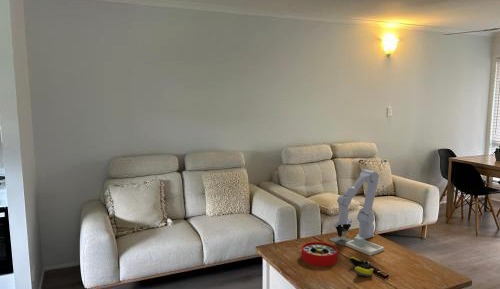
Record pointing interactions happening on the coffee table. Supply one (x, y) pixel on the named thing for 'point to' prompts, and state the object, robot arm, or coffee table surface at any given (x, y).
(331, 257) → the toy clock
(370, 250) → the tray
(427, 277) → the coffee table surface
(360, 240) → the blue-grey block
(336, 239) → the mat
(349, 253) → the coffee table surface
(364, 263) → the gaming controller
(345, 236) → the birch block
